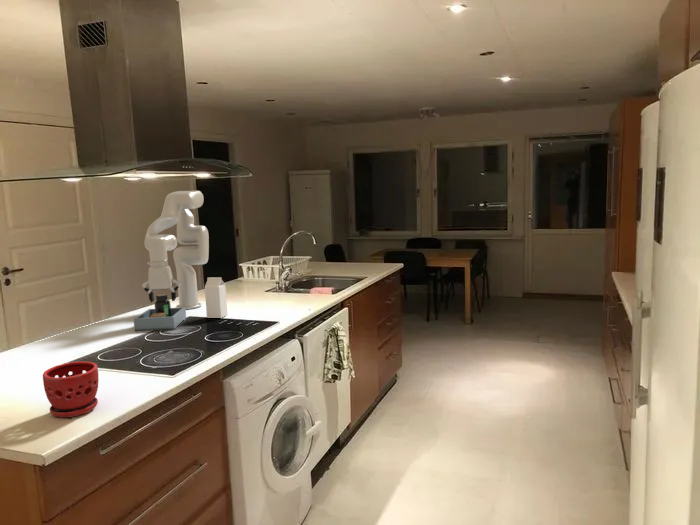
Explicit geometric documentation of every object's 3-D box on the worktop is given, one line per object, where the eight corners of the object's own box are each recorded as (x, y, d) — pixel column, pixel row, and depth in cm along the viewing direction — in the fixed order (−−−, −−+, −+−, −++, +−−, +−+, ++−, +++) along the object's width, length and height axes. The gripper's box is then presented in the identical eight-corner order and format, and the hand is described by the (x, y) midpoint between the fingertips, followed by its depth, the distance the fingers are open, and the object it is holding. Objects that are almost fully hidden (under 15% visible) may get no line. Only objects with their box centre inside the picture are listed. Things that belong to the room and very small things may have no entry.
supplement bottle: (170, 321, 244) (168, 295, 243) (155, 323, 243) (152, 297, 241) (172, 318, 251) (170, 293, 249) (157, 319, 249) (154, 294, 248)
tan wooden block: (154, 324, 241) (153, 313, 240) (165, 323, 241) (164, 312, 240) (150, 327, 236) (149, 315, 235) (162, 326, 236) (161, 315, 235)
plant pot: (36, 417, 142) (30, 373, 140) (78, 399, 153) (74, 359, 152) (71, 424, 136) (65, 378, 135) (112, 405, 148) (108, 363, 147)
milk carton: (221, 319, 250) (218, 278, 247) (206, 318, 251) (203, 278, 249) (227, 315, 256) (224, 276, 254) (213, 315, 258) (210, 276, 255)
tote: (149, 320, 252) (148, 309, 252) (186, 318, 253) (185, 307, 252) (134, 331, 232) (133, 318, 232) (174, 329, 233) (173, 316, 233)
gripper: (137, 266, 239) (141, 303, 242) (176, 264, 240) (180, 301, 243) (142, 263, 247) (146, 300, 250) (180, 261, 248) (184, 298, 250)
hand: (163, 300), depth 246 cm, fingers open, 9 cm apart
